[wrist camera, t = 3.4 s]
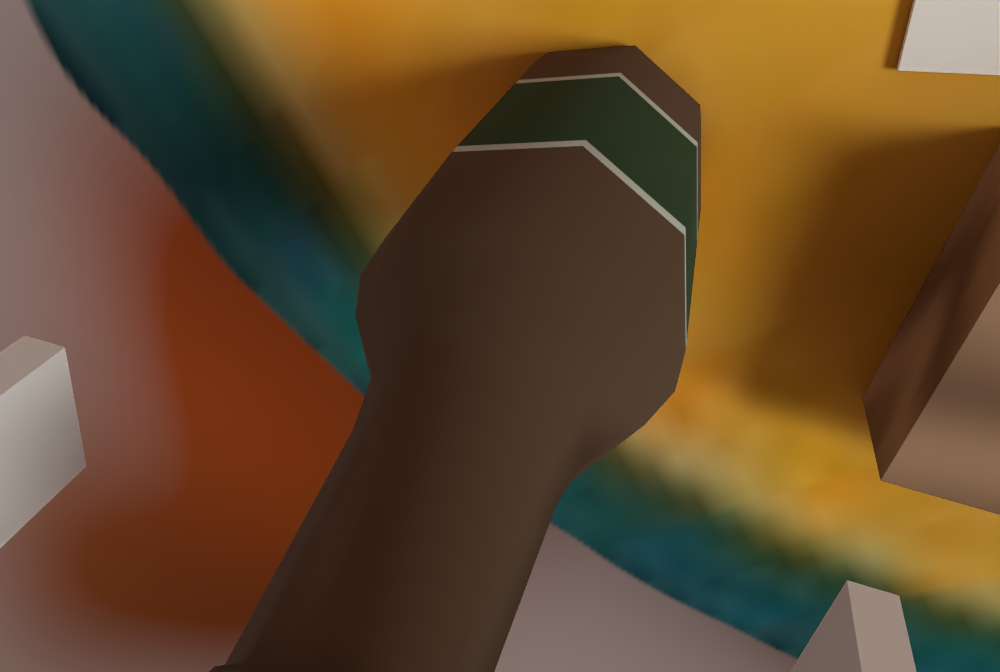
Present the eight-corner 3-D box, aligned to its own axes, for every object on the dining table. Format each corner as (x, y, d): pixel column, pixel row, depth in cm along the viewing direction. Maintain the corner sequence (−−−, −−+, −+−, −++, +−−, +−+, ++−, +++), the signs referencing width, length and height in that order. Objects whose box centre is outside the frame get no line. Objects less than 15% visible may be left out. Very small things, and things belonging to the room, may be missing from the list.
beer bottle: (655, -11, 25) (341, 540, 5) (746, 200, 28) (764, 1078, 8) (455, 97, 28) (-182, 673, 9) (554, 275, 31) (238, 1017, 12)
